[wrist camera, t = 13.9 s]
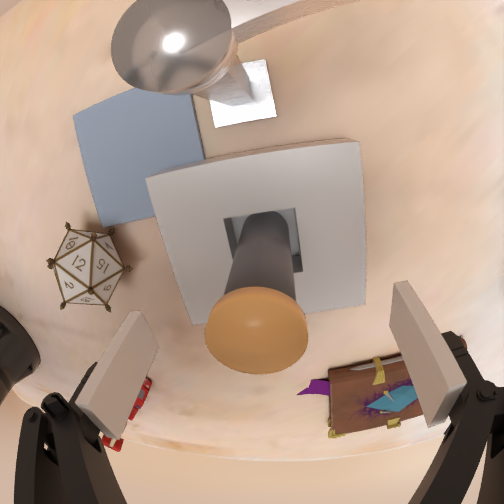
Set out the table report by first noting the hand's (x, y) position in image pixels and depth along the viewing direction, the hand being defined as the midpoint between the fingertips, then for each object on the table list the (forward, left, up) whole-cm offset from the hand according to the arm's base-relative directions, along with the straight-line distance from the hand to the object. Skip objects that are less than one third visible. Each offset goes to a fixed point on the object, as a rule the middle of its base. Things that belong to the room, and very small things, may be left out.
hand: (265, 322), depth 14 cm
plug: (0, 0, -12) cm, 12 cm away
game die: (-17, 0, -13) cm, 22 cm away
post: (0, +12, -13) cm, 18 cm away
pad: (-10, +9, -13) cm, 19 cm away
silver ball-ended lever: (+6, +14, +3) cm, 15 cm away
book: (+13, -27, -14) cm, 33 cm away
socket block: (0, 0, -13) cm, 13 cm away
